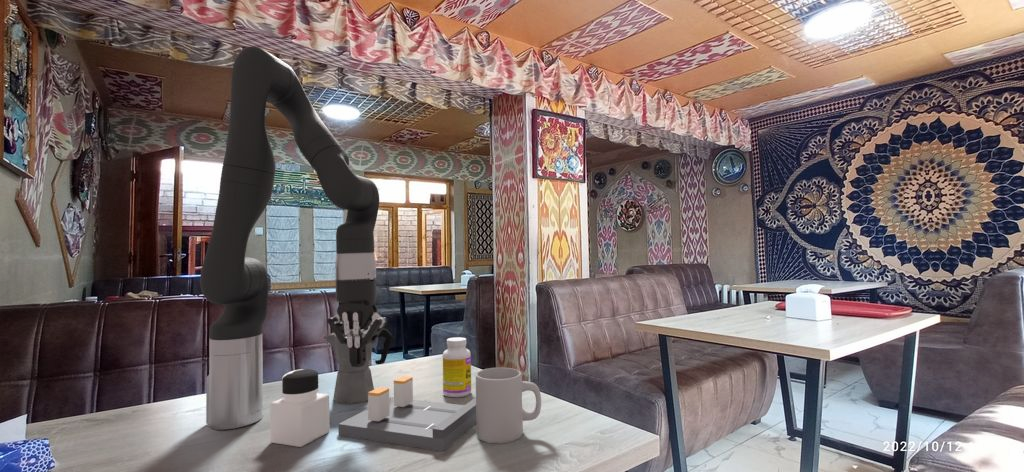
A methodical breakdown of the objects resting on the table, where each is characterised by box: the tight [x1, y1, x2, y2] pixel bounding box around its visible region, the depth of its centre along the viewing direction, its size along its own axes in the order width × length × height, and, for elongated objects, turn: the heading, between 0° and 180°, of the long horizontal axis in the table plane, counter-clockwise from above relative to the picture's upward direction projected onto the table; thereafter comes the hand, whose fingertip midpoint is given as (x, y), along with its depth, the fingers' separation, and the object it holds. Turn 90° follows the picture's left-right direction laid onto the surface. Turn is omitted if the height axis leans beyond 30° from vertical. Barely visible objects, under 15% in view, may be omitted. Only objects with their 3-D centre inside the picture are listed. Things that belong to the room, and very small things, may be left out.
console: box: [337, 396, 476, 452], centre depth 86 cm, size 22×16×4 cm
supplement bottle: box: [442, 336, 472, 398], centre depth 105 cm, size 7×7×13 cm
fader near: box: [367, 386, 390, 421], centre depth 84 cm, size 2×3×5 cm
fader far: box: [393, 375, 414, 407], centre depth 92 cm, size 2×3×5 cm
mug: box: [475, 367, 542, 444], centre depth 81 cm, size 12×8×11 cm
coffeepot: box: [323, 328, 394, 405], centre depth 104 cm, size 15×9×18 cm, turn 100°
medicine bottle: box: [269, 368, 330, 448], centre depth 82 cm, size 7×7×12 cm
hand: (358, 366), depth 86 cm, fingers closed
